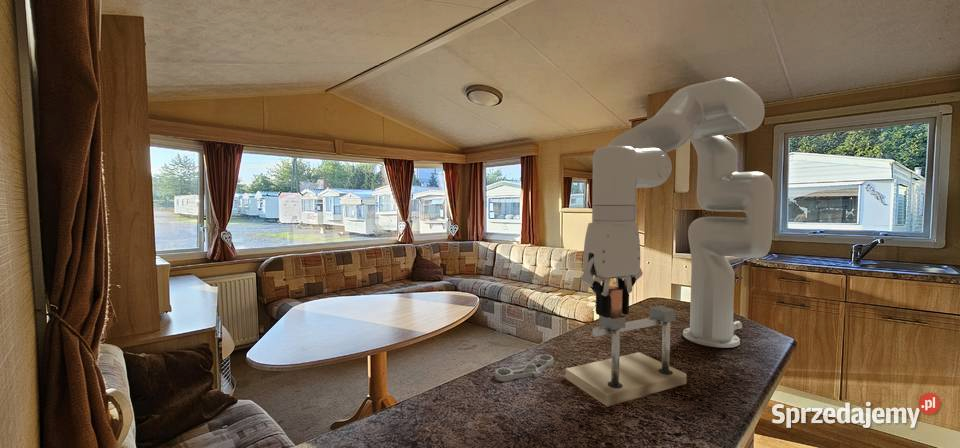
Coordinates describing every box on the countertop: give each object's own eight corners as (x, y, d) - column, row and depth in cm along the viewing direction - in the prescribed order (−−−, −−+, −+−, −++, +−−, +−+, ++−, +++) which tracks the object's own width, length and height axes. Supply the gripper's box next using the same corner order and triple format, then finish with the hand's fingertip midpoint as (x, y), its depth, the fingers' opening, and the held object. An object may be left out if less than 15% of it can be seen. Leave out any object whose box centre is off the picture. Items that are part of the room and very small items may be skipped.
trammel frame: (660, 364, 81) (662, 305, 80) (675, 371, 77) (677, 309, 76) (589, 382, 73) (590, 317, 72) (603, 390, 70) (604, 322, 69)
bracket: (486, 362, 84) (548, 351, 89) (487, 371, 84) (548, 360, 89) (500, 377, 77) (566, 365, 82) (500, 387, 77) (566, 374, 82)
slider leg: (611, 374, 75) (613, 285, 74) (625, 382, 72) (627, 289, 71) (597, 378, 74) (598, 287, 73) (610, 386, 70) (612, 291, 69)
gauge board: (638, 360, 87) (638, 351, 87) (686, 383, 76) (686, 373, 76) (565, 378, 79) (565, 368, 79) (607, 406, 68) (607, 395, 68)
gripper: (632, 213, 78) (630, 304, 79) (563, 215, 71) (562, 314, 72) (663, 214, 71) (661, 313, 72) (591, 217, 64) (590, 326, 65)
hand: (612, 313), depth 72 cm, fingers closed on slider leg, 3 cm apart
